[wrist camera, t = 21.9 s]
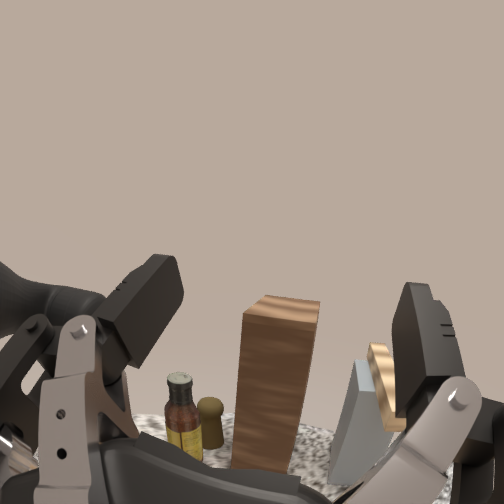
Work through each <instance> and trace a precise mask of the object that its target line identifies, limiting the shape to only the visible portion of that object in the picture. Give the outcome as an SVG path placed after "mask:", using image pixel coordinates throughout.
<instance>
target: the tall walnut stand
mask: <svg viewBox="0 0 504 504" xmlns="http://www.w3.org/2000/svg"><path fill="white" fill-rule="evenodd" d="M319 307H320V302H319V301H310V300H302V299H294V298H286V297H278V296H270V295H265V296H264V297H263V298H262V299H260V300H259V301H258V302H257V303H255V304H254V305H253V306H251V307H250V308H249V309H247V310H246V311H245V312H244V313H243V320H242V333H241V345H240V357H239V369H238V382H237V396H236V407H235V420H234V433H233V446H232V459H231V469H260V470H265V471H270V472H275V473H281V474H286V473H287V469H288V466H289V462H290V459H291V455H292V451H293V447H294V444H295V440H296V435H297V431H298V427H299V422H300V417H301V413H302V408H303V403H304V397H305V393H306V387H307V382H308V377H309V372H310V365H311V360H312V354H313V348H314V341H315V335H316V328H317V322H318V314H319Z"/></svg>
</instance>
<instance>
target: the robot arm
mask: <svg viewBox="0 0 504 504" xmlns="http://www.w3.org/2000/svg"><path fill="white" fill-rule="evenodd" d="M183 296H184V290H183V285H182V281H181V277H180V273H179V270H178V265H177V261H176V259H175V257H174V256H169V255H160V254H153V255H152V256H151V257H150V258H149V259H148V260H147V261H146V262H145V263H144V264H143V265H141V266H140V267H138V268H137V269H135V270H133V271H132V272H130V273H129V274H128V275H127V276H126V277H125V279H124V280H123V281H122V283H120V284H119V285H118V286H117V287H116V290H113V292H112V293H111V294H110V295H109V296H108V297H107V298H105V297H104V296H103V295H102V294H99V293H96V292H92V291H87V290H82V289H77V288H73V287H68V286H59V285H50V284H44V283H38V282H33V281H30V280H26V279H24V278H21V277H20V276H18V275H17V274H15V273H14V272H13V271H12V270H11V269H9V268H8V267H7V266H5V265H4V264H3V263H1V262H0V339H1V338H3V337H5V336H8V335H11V334H14V335H13V336H12V337H11V338H10V340H9V341H8V342H7V343H6V345H5V346H4V347H3V349H2V350H1V351H0V504H432V503H433V502H434V500H435V499H436V498H437V496H438V495H439V493H440V492H441V491H442V489H443V488H444V486H445V484H446V482H447V479H448V476H447V475H446V471H447V469H448V467H449V466H450V464H451V463H452V462H454V467H453V481H452V491H451V499H450V504H504V403H501V402H498V401H494V400H490V399H487V398H484V397H481V393H480V391H479V389H478V387H477V386H476V384H475V383H474V382H472V381H471V380H470V379H468V378H466V376H465V372H464V367H463V363H462V359H461V354H460V350H459V346H458V342H457V339H456V337H455V331H454V328H453V327H452V325H453V324H452V321H451V318H450V315H449V312H448V310H447V309H446V308H445V306H444V305H443V304H442V303H441V301H437V300H433V297H432V294H431V291H430V287H429V285H428V284H423V283H412V282H406V284H405V285H404V288H403V291H402V294H401V297H400V301H399V303H398V306H397V310H396V312H395V315H394V318H393V323H392V343H393V357H394V375H395V418H406V428H405V429H404V430H403V431H402V432H401V434H400V435H399V436H398V437H397V439H396V440H395V441H394V442H393V443H392V444H391V446H390V447H389V448H388V449H387V450H386V451H385V452H384V454H383V455H382V456H381V457H380V458H379V459H378V460H377V461H376V462H375V463H374V464H373V465H372V467H371V468H370V469H369V470H368V471H367V472H366V473H365V474H363V475H362V476H361V477H360V478H359V479H358V480H357V481H356V482H354V483H353V484H352V485H351V486H350V487H349V488H348V489H347V490H346V491H344V492H343V493H342V494H341V495H340V496H339V497H338V498H337V499H335V500H334V501H333V502H331V501H330V500H328V499H327V498H326V497H325V496H324V495H322V494H321V493H319V492H318V491H316V490H314V489H312V488H310V487H308V486H306V485H303V484H301V483H300V480H301V476H293V475H287V474H281V473H275V472H270V471H265V470H260V469H224V468H212V467H209V466H207V465H205V464H204V463H202V462H201V461H199V460H197V459H196V458H194V457H193V456H191V455H189V454H188V453H186V452H185V451H183V450H182V449H180V448H179V447H177V446H176V445H174V444H171V443H169V442H166V441H164V440H161V439H159V438H156V437H154V436H151V435H149V434H147V433H144V432H142V431H141V433H140V435H139V432H138V429H137V427H136V425H135V424H134V421H133V419H132V415H131V409H130V402H129V395H128V387H127V378H126V373H125V371H124V369H125V367H126V366H127V365H130V366H132V367H135V368H138V369H139V368H140V366H141V365H142V363H143V362H144V360H145V359H146V357H147V356H148V354H149V352H150V351H151V349H152V348H153V346H154V345H155V343H156V342H157V340H158V339H159V337H160V335H161V334H162V332H163V331H164V329H165V328H166V326H167V325H168V323H169V322H170V320H171V319H172V317H173V315H174V314H175V313H176V311H177V310H178V308H179V307H180V305H181V303H182V301H183ZM36 360H37V361H38V362H39V363H40V364H41V366H42V367H43V368H44V369H45V371H44V372H43V374H42V375H41V377H40V378H39V380H38V381H37V383H36V384H35V386H34V387H33V389H32V390H31V392H30V393H29V394H28V395H25V394H24V393H23V391H22V389H21V382H22V380H23V378H24V377H25V375H26V374H27V372H28V371H29V370H30V368H31V367H32V365H33V364H34V363H35V361H36ZM37 448H38V453H39V468H38V461H37V460H36V459H35V458H34V457H33V455H34V453H35V451H36V449H37ZM494 458H495V473H494ZM29 470H30V471H29ZM493 477H494V490H493Z"/></svg>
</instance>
